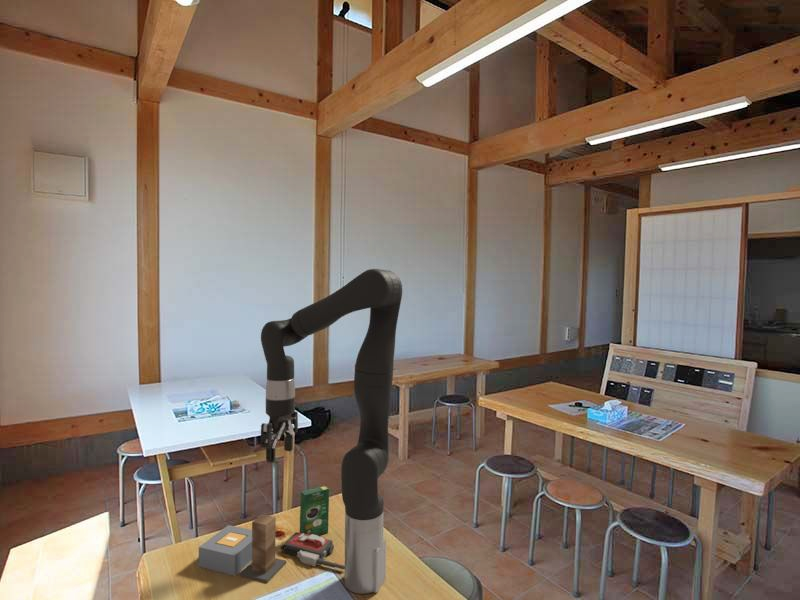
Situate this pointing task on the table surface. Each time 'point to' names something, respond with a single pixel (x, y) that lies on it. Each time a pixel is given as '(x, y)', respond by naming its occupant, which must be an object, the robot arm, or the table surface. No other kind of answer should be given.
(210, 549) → the box
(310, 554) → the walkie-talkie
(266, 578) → the mat
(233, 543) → the button
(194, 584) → the table surface
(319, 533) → the coffee box
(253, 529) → the tall cardboard-brown rectangular prism
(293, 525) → the table surface
